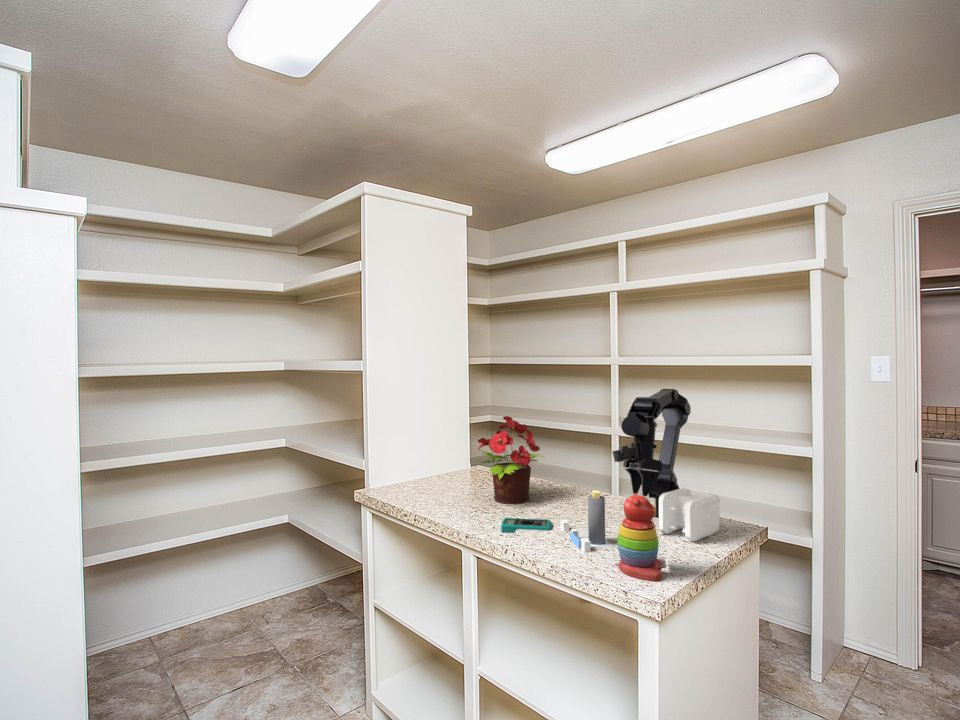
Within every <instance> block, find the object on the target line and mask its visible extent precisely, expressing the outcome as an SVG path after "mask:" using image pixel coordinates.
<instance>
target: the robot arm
mask: <svg viewBox="0 0 960 720" xmlns="http://www.w3.org/2000/svg"><path fill="white" fill-rule="evenodd" d="M691 410H692V409H691V405H690V402H689V401H688V399H687V398H686V397H684V395H682V394H680V393H679V391H678V390H677V389H676V388H662V389H660V390H659V391H657V392H656V393H654V394H652V395H651V396H640V397H636V398H635V399H634V400H633V402H632V403H631V406H630V408H629V411H628V413H627V414H626V415H627V416H626V417H624V419H623V420H622V422H621V427H620V428H621V429H622V432H623V433H624V434H625V435H626V436H629V437H632V438H633V442H631V443H630V447H629V446H628V445H624V446H620V448H619V449H617V450H612V455H613V460H614V463H621V462H623V463H622V464H623V465H622V466H623V468H624V470H625V471H626V472H627V473H628V475H629V477H630V483H631V488H632V493H633V495H634V494H635V493H637V494H638V493H639V492H640V488H641V493H642V496H644V497H647V496H648V497H649V498H652V499H655V500H654V501H655V503H654V504H655V506H654V507H655V508H656V510H657V511H656V514H655V516H654V517H653V518H658V519H659V497H660V495H661V494H663V493H666V492H670V491H673V490H677V489H681V487H680V486H679V484H678V478H677V476H676V473H675V471H674V469H675V462H676V458H677V457H676V456H677V452H678V447H679V445H678V444H679V438H680V433H681V429H682V428H683V426H684V425H686V424H687V422H688V419H689V416H690V415H691ZM660 415H661V416H662V419H663V420H664V422H665V427H664V431H663V436H662V442H661V445H660V446H661V448H660V453H659V458H658V459H655V458H654V453H655V449H657V444H655V439H656V429H657V428H658V424H657V422H656V421H655V420H657V419H658V418H659V416H660Z"/></svg>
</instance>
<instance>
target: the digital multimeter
mask: <svg viewBox="0 0 960 720" xmlns="http://www.w3.org/2000/svg"><path fill="white" fill-rule="evenodd" d="M500 527H501V528H500V532H501V533H511V534H514V533H516V532H517V530H528V531H529V530H530V531H546V532H547V531H548V532H549V531H551V529H552V528H553V523H552V521H551V520H550V519H548V518H547V519H545V518H543V519H541V518H519V517H517V518H516V517H504V518H503V519H502V520H501V525H500Z"/></svg>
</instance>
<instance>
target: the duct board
mask: <svg viewBox="0 0 960 720" xmlns="http://www.w3.org/2000/svg"><path fill="white" fill-rule="evenodd" d="M560 529H561V531H563V532H569V535H570V539H569V540H570V541H571V542H572V543H573V544H574V545H575V546H576V547H577V548H578V549H582V551H583V552H584V553H585V552H586V553H587V552H591V548H595V547H606V546H607V547H609V546H613V544H612V543H610V542H609V541H608V540H607V539H606V538H605V544H602V545H595V544H591V542H590V541H589V529H577V528H573V529H570V522H569V521H568V520H567V519H560Z"/></svg>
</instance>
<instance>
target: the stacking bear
mask: <svg viewBox="0 0 960 720" xmlns="http://www.w3.org/2000/svg"><path fill="white" fill-rule="evenodd" d="M623 503H624V504H623V511H624V515H625V518H623V520H622V521H621V523H620V526H619V530H618V533H617V548H618V554H619V557H620V561H619V563H618V570H619V571H620V572H621V573H623V574H624V573H625V575H626V576H629V577H633V578H636V579H639V580H644V581H652V582H658V581H660V580H662V578H663V577H662V576H663V575H662V573H661V571H660V570H662V569H663V567H661V565H663V562H662V560H660V559H658V553H659V548H660V547H659V545H660V544H659V543H660V541H659V537H658V533H657V529H656V526H655V523H654V522H653V518H655V517H654V516H655V514H656V511H657V510H656V508H655V506H654V505H653V504H652V503H651V502H650V500H649V499H648V498H647V496H643V495H638V493H635V494H634V493H633V495H630V496H629V497H627V498H626V499H625V500H624V502H623Z"/></svg>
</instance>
